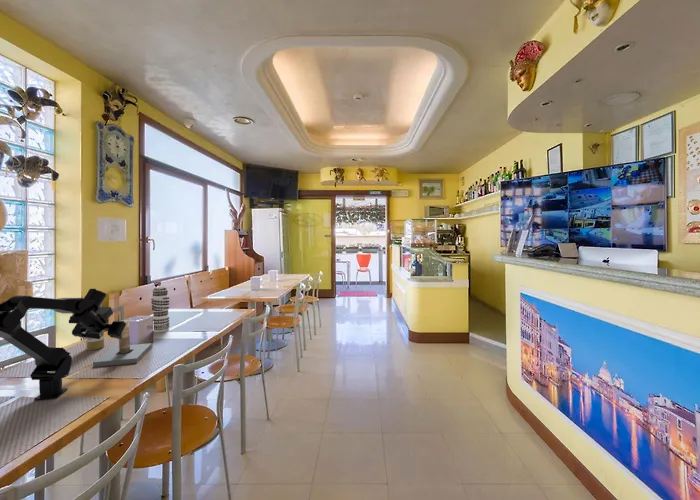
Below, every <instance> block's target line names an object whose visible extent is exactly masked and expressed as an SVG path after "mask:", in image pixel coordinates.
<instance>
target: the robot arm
mask: <svg viewBox="0 0 700 500" xmlns="http://www.w3.org/2000/svg"><path fill="white" fill-rule="evenodd" d="M106 298H107V294H106V293H105V292H103V291H101V290H99V289H96V288H89V290H88V292H87V293H86V295H85V296H84V297H61V298H60V297H58V298H49V297H40V296H31V295H21V294H20V295H14V296H12V297H10V298H8V299H6V300H5V301H3V302H1V303H0V338H2V339H3V340H4V341H7V343H9V344H11V345H12V346H14V348H15V347H16V348H17V349H18V350H20V351H22V352H23V353H25V354H26V355H28V357H29V356H30V357H31V358H32V359H34V364H35V367H34V369H33V371H32V372H31V373H30V375H29V377H30V378H31V380H32V381H36V380H38V384H39V388H38V389H39V394H38V395H37V396H35V398H34V399H33V400H34V401H40V400H41V401H42V400H50V399H57V398H59V397H60V396H61V395H62V394H64V393H65V392H66V391H68V387H64V388H63V378H65V377H66V376H69V374H70V370H71V367H72V363H73V358H72V356H71V352H68V351H67V350H66V349H65V348H64V347H49V346H48V345H46V344H45V342H43V341H41V340H40V339H38V338H37V337H35V336H34V335H33V334H31V333H30V332H28V331H27V330H26V329H25V328H23V327H22V321H21V320H22V319H23V318H24V317H25V315H26V314H27V311H28V310H29V309H35V310H36V309H38V310H52V311H54V312H56V313H61V314H71V315H70V316H69V319H68V324H75V326H74V327H73V329H72V330H71V334H72V336H74V337H78V338H85V339H86V338H93V339H100V335H99V334H98V333H100V332H101V331H102V330H104V331H107V332H106V333H107V335H108V337H109V338H112V339H113V338H114V339H116V340H119V339H121V338H122V334H121V333H122V331H123V329H124V327H125V326H126V323H125V322H124V321H125V320H114V321H112V322H111V323H109V318H110V317H111V316H112V315H114V312H113V309H112V307H111V306H103V307H100V305H101V304H102V302H103V303H104V301H105V300H106Z"/></svg>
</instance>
